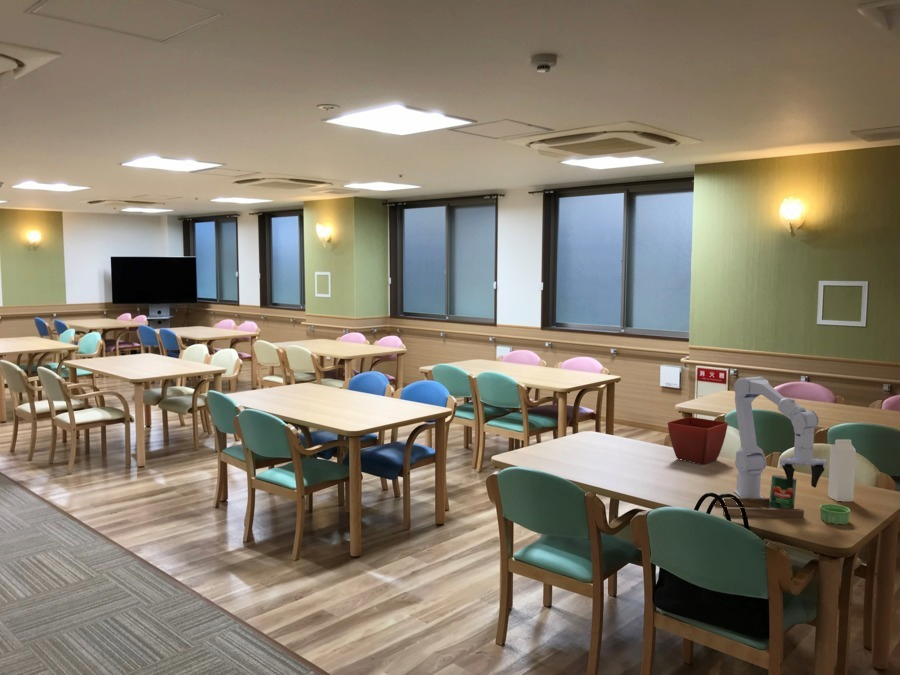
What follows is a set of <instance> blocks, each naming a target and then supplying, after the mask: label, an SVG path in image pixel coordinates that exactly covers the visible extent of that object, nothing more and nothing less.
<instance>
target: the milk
mask: <svg viewBox="0 0 900 675" xmlns="http://www.w3.org/2000/svg"><path fill="white" fill-rule="evenodd" d="M829 450H830V451H829V471H828V489H827V490H828V493H827V497H828V496H829V497H828V498H830V499H832V500H833V501H835V500H836V501H835V502H837V501H842V502H854V497H855V496H854V491H855V478H856V477H855V476H856V475H855V471H856V456H857V455H856V454H857V450H856V448H855V447H854V446H853V443H852V439H845V438H844V439H835V442H834V444H831V445H830V449H829Z"/></svg>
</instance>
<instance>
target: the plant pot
mask: <svg viewBox="0 0 900 675" xmlns="http://www.w3.org/2000/svg"><path fill="white" fill-rule="evenodd" d="M728 425H729V423H728V422H727V421H721V420H713V419H706V418H701V417H694V416H687V417H683V418H679V419H675V420H671V421H668V422H667V428H668V433H669V439H670V442H671V446H672V449H673V451H674V455H675V457H676V459H677V458H678V459H682V460H686V461H685V462H687V461H691V462H690V463H692V462H695V463H694V464H697V463H699V464H698V465H706V464H710V463H712V462H714V461H717V460H718V458H719V456H720V454H721V451H722V449H723V445H724V443H725V438H726V435H727V430H728ZM678 459H677V460H678ZM682 460H681V461H682Z"/></svg>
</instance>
